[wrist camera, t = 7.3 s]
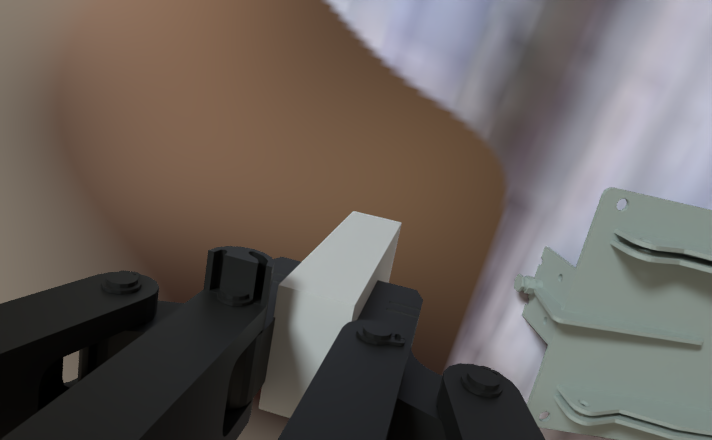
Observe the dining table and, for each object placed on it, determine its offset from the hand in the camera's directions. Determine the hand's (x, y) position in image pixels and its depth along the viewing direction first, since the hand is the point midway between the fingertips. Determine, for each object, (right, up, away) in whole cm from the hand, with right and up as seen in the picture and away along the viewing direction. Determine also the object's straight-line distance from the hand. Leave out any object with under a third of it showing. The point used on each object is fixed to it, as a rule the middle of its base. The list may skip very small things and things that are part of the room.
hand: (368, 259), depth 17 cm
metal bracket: (+14, -3, +10) cm, 18 cm away
